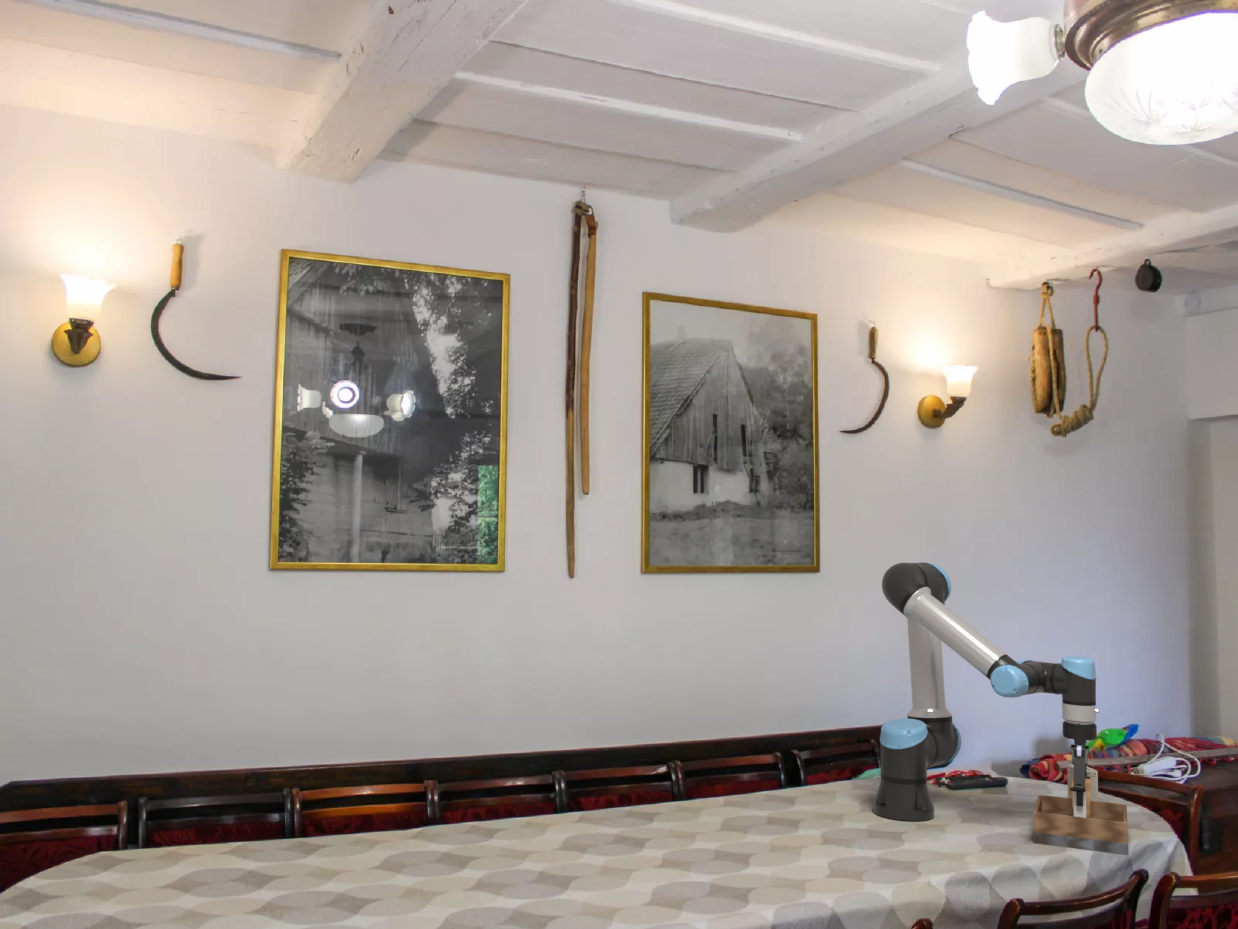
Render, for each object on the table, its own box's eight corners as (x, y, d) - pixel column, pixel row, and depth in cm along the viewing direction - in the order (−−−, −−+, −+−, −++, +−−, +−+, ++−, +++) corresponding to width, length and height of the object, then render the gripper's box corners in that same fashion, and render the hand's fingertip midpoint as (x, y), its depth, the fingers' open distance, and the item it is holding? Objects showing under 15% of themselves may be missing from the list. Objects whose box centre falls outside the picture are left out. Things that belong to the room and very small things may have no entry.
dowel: (1072, 839, 248) (1071, 779, 249) (1072, 835, 252) (1072, 776, 253) (1090, 841, 246) (1089, 781, 248) (1091, 837, 250) (1090, 778, 251)
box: (1033, 842, 244) (1033, 812, 245) (1038, 823, 263) (1038, 794, 263) (1128, 855, 236) (1127, 823, 236) (1127, 833, 254) (1126, 804, 254)
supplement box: (1099, 823, 263) (1098, 771, 264) (1080, 823, 263) (1079, 770, 264) (1085, 815, 271) (1085, 764, 272) (1067, 814, 271) (1066, 763, 272)
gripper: (1095, 730, 239) (1097, 827, 237) (1097, 716, 261) (1098, 804, 259) (1060, 727, 242) (1061, 823, 241) (1064, 713, 264) (1065, 801, 262)
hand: (1080, 813), depth 250 cm, fingers open, 11 cm apart
